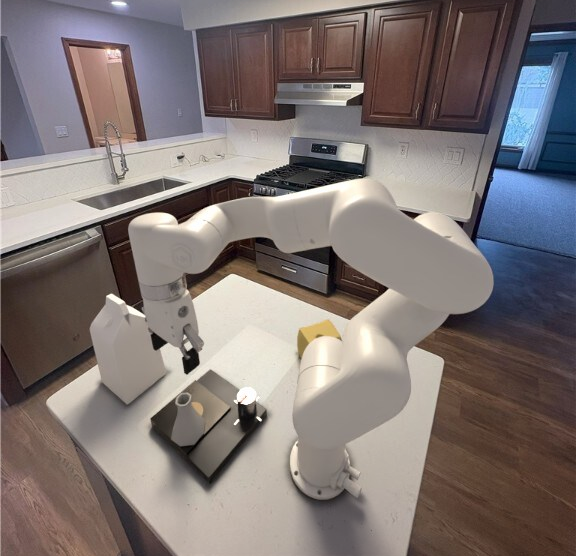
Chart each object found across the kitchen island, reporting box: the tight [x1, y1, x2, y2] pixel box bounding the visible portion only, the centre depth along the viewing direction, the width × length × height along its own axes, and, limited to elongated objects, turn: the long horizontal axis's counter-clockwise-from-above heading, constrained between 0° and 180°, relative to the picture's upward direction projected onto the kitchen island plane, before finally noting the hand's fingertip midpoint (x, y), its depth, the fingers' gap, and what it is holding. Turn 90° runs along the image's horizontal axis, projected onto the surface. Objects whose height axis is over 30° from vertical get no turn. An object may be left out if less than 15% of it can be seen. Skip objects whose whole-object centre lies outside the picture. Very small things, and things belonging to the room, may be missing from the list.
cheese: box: [296, 318, 342, 359], centre depth 89 cm, size 10×11×10 cm
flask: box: [171, 392, 205, 446], centre depth 67 cm, size 7×7×10 cm
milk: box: [89, 293, 167, 406], centre depth 80 cm, size 12×12×26 cm
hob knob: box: [237, 387, 257, 419], centre depth 73 cm, size 4×4×5 cm
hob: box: [150, 368, 268, 484], centre depth 74 cm, size 21×19×2 cm
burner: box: [149, 379, 231, 455], centre depth 73 cm, size 13×13×1 cm
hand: (176, 357), depth 61 cm, fingers open, 9 cm apart
